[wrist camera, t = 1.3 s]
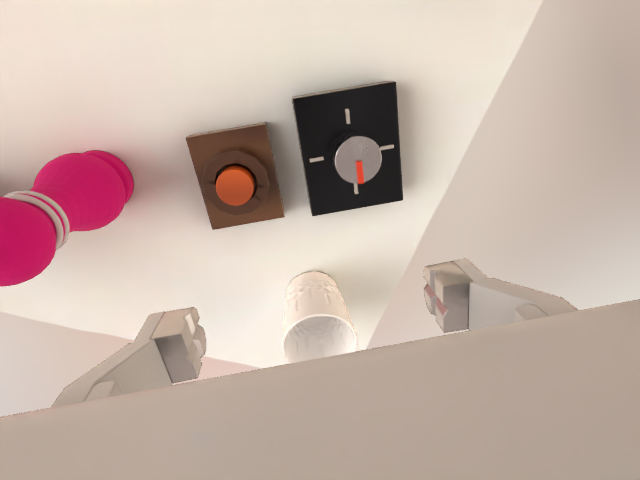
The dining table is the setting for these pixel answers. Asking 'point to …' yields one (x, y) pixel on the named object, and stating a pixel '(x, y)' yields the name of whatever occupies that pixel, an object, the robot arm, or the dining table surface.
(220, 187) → the button
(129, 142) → the dining table surface
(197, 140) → the button box
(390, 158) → the hob panel
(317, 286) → the white cup
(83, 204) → the pepper mill
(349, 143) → the hob knob
